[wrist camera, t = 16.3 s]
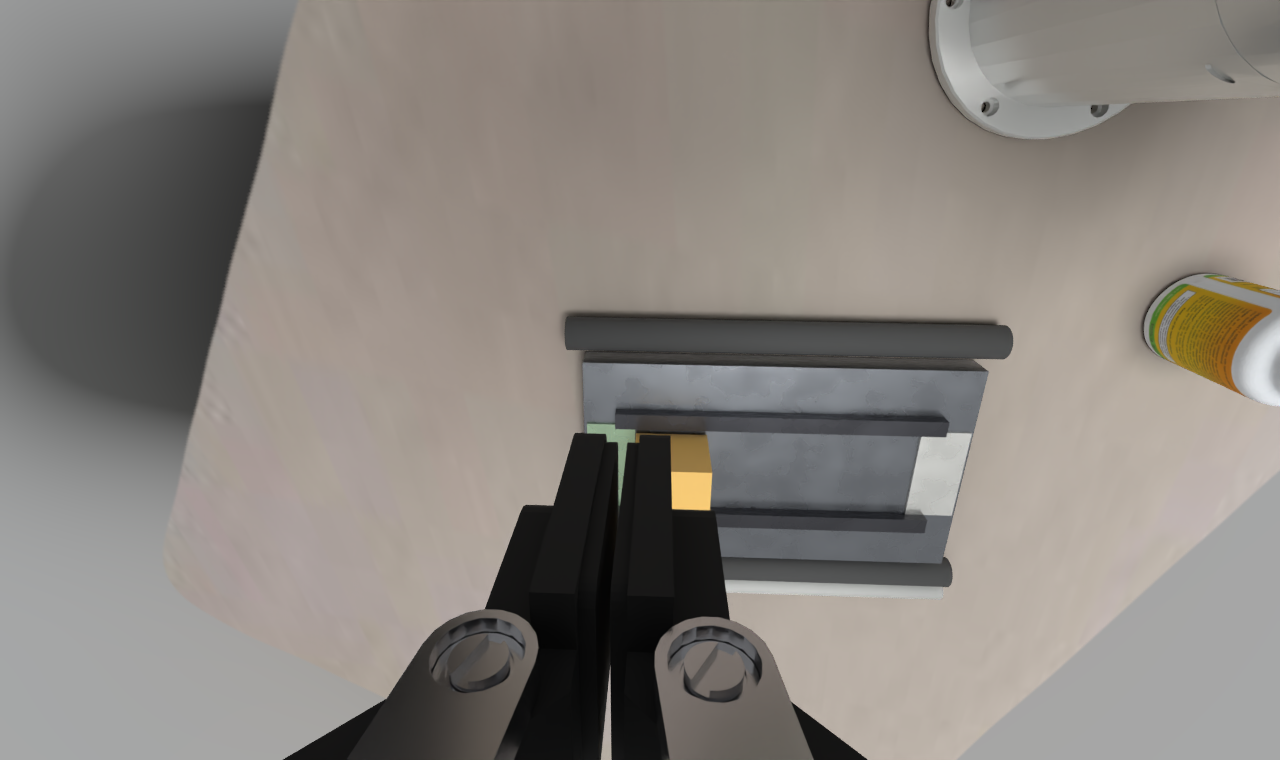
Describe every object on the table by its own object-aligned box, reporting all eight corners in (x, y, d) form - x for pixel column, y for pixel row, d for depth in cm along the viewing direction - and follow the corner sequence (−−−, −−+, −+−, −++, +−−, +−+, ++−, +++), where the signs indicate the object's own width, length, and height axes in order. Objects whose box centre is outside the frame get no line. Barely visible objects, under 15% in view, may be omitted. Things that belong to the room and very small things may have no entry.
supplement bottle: (1146, 372, 38) (1296, 448, 29) (1133, 294, 36) (1289, 350, 27) (1242, 338, 37) (1427, 407, 28) (1234, 256, 35) (1430, 302, 26)
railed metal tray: (972, 359, 38) (995, 376, 35) (929, 544, 43) (946, 571, 41) (586, 351, 39) (580, 367, 36) (591, 534, 44) (586, 560, 41)
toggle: (707, 434, 38) (712, 473, 34) (703, 503, 40) (707, 546, 36) (636, 433, 38) (632, 470, 34) (635, 501, 40) (632, 544, 36)
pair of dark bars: (998, 321, 37) (1016, 331, 35) (932, 590, 45) (944, 610, 43) (569, 312, 38) (564, 322, 36) (578, 578, 46) (575, 597, 44)
